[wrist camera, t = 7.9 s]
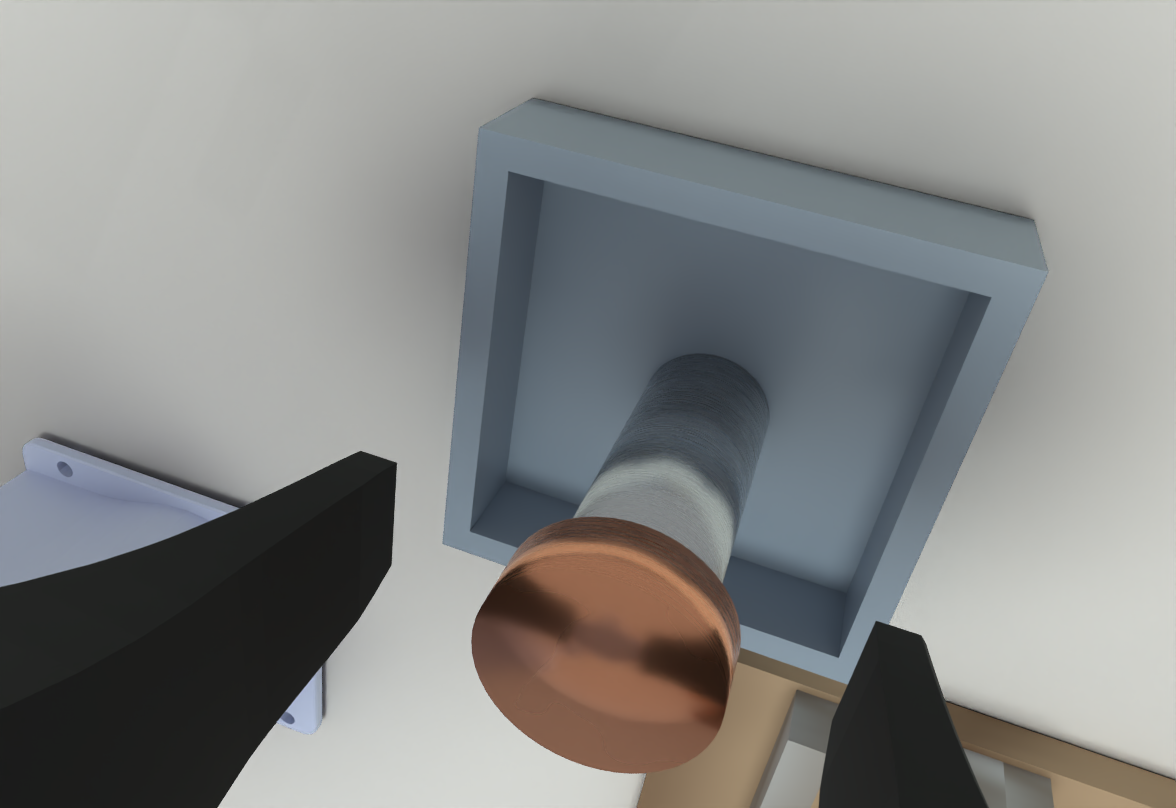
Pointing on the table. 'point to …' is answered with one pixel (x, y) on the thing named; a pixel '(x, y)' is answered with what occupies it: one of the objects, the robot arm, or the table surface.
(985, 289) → the tray
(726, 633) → the lock pin
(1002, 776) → the pulley board
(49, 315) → the table surface
